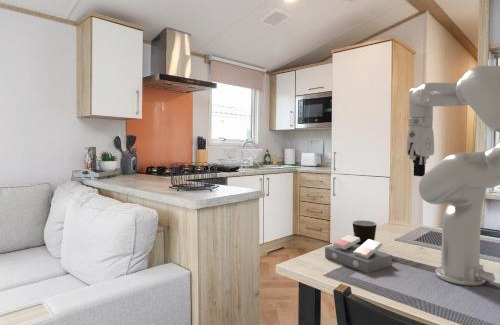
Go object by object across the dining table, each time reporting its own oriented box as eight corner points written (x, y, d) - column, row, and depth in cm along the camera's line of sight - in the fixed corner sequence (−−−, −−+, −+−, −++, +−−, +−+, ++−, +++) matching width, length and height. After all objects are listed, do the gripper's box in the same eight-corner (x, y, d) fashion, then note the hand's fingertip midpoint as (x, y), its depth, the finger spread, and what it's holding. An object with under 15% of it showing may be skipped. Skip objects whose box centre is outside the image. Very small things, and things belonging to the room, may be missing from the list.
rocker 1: (360, 241, 119) (359, 237, 118) (344, 249, 115) (344, 245, 114) (349, 237, 123) (348, 234, 123) (333, 245, 119) (333, 242, 118)
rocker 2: (382, 245, 111) (381, 242, 111) (367, 259, 107) (366, 255, 107) (369, 241, 115) (368, 238, 115) (354, 254, 111) (353, 251, 111)
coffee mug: (372, 254, 122) (372, 226, 121) (348, 250, 127) (349, 223, 127) (381, 246, 131) (382, 220, 131) (359, 242, 137) (359, 218, 136)
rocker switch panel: (391, 265, 111) (391, 252, 111) (367, 273, 104) (367, 259, 104) (348, 251, 126) (348, 239, 126) (324, 257, 119) (324, 244, 119)
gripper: (419, 122, 111) (417, 178, 112) (442, 123, 119) (441, 175, 120) (397, 123, 117) (396, 176, 118) (421, 124, 125) (420, 174, 126)
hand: (419, 175), depth 119 cm, fingers closed
